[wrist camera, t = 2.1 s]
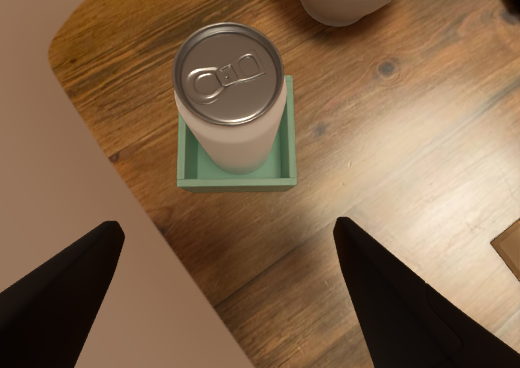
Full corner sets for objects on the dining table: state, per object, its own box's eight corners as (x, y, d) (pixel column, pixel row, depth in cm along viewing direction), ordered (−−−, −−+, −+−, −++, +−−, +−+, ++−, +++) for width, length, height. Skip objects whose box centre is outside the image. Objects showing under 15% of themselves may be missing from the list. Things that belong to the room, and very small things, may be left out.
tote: (286, 191, 23) (297, 185, 18) (192, 192, 23) (176, 186, 18) (283, 103, 24) (292, 75, 19) (194, 103, 24) (179, 73, 19)
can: (197, 131, 23) (141, 42, 11) (253, 105, 24) (256, -5, 12) (225, 186, 22) (196, 156, 10) (281, 158, 23) (315, 99, 11)
